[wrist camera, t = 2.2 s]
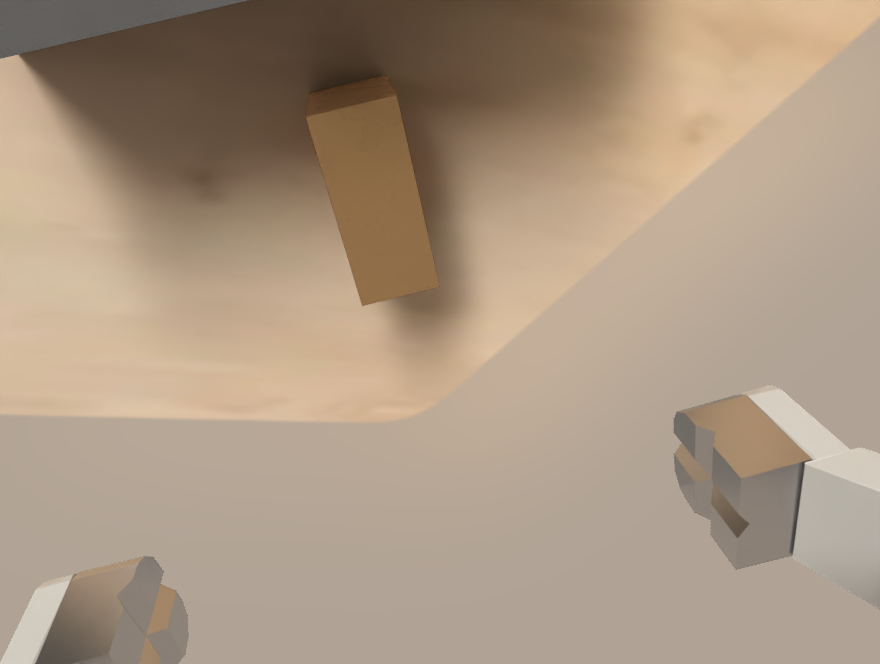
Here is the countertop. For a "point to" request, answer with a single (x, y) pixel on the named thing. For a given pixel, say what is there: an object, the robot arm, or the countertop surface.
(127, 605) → the robot arm
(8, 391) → the countertop surface
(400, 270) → the brown wooden block
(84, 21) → the post box
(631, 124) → the countertop surface
